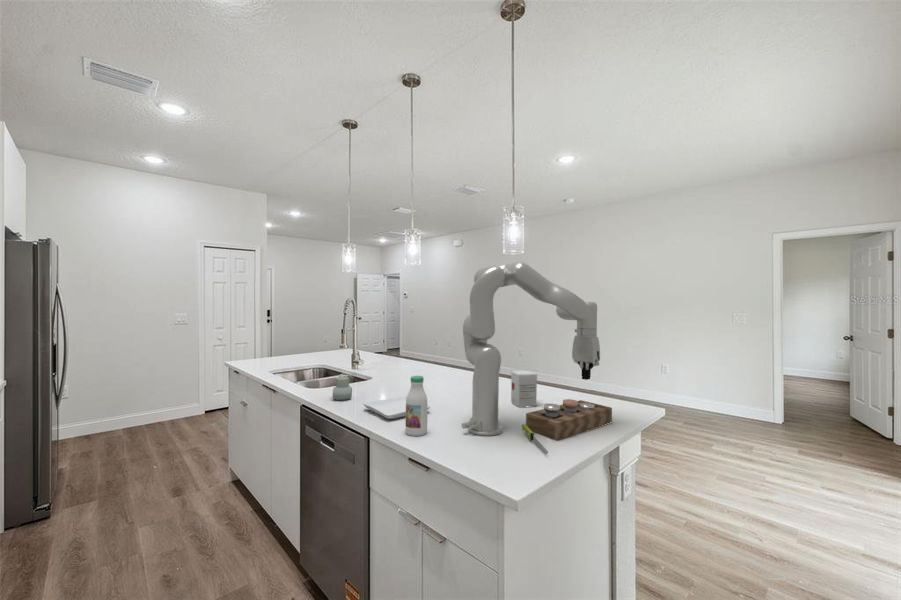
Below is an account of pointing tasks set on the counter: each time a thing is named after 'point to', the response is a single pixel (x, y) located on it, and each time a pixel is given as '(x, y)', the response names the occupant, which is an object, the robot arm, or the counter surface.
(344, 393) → the air freshener
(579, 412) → the brown wooden rectangular block
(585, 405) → the knob far
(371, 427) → the counter surface
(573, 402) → the knob middle
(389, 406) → the salad plate
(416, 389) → the milk bottle
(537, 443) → the kitchen knife
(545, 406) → the knob near
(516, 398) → the supplement box
